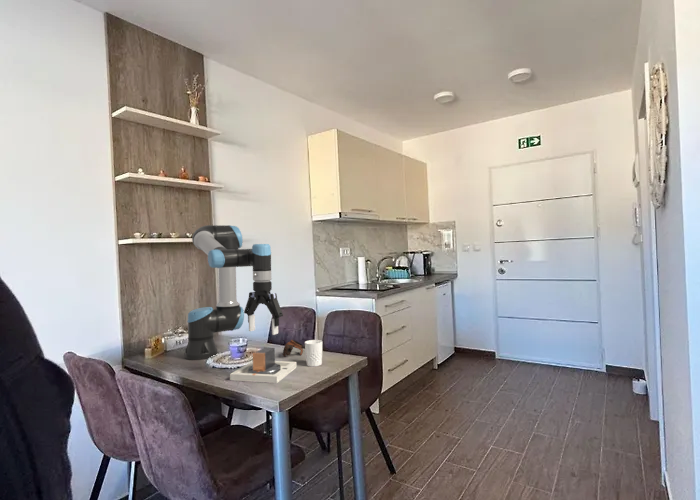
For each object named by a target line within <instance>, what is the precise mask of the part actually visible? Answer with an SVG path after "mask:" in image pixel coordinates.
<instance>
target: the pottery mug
mask: <svg viewBox="0 0 700 500" xmlns="http://www.w3.org/2000/svg"><path fill="white" fill-rule="evenodd" d="M294 348H296V349H298V350H300V353H299V355H300V356H302V354H303V353H304V348H305V345H303V344H302V343H301V342H299V341H297V340H295V339H290V341H288V342H287V343H285V345H284V347H283V350H282V356H284V357H286V356H291V352H292V351H293V349H294Z"/></svg>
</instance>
